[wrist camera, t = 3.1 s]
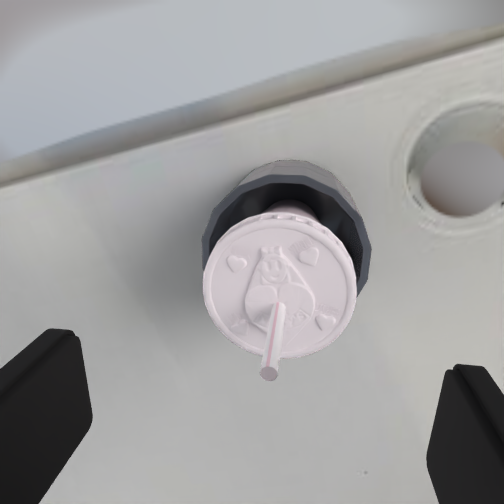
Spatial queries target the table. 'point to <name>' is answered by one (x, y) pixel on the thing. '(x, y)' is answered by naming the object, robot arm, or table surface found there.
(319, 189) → the grey cup holder
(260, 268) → the smoothie
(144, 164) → the table surface
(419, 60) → the table surface
